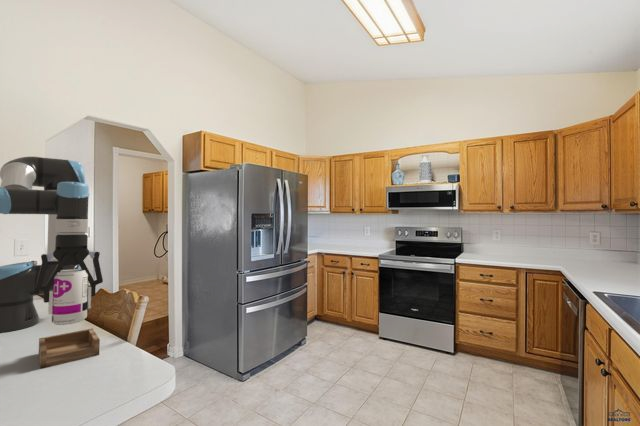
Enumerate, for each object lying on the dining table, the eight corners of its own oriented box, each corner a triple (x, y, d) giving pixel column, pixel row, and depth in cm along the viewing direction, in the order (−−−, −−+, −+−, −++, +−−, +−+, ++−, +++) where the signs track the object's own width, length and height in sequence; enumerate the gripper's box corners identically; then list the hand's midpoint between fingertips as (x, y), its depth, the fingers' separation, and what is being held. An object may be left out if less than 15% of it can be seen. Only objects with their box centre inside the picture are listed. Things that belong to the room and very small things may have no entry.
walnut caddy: (38, 353, 93) (39, 338, 93) (92, 342, 102) (92, 328, 102) (40, 368, 83) (40, 351, 84) (99, 354, 92) (99, 339, 92)
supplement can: (67, 326, 88) (69, 273, 88) (44, 324, 90) (45, 272, 90) (93, 318, 96) (95, 269, 96) (71, 316, 98) (73, 268, 98)
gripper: (23, 235, 84) (21, 320, 83) (115, 233, 98) (114, 306, 97) (23, 234, 89) (21, 314, 88) (111, 232, 104) (109, 301, 103)
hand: (70, 310), depth 93 cm, fingers closed on supplement can, 8 cm apart
